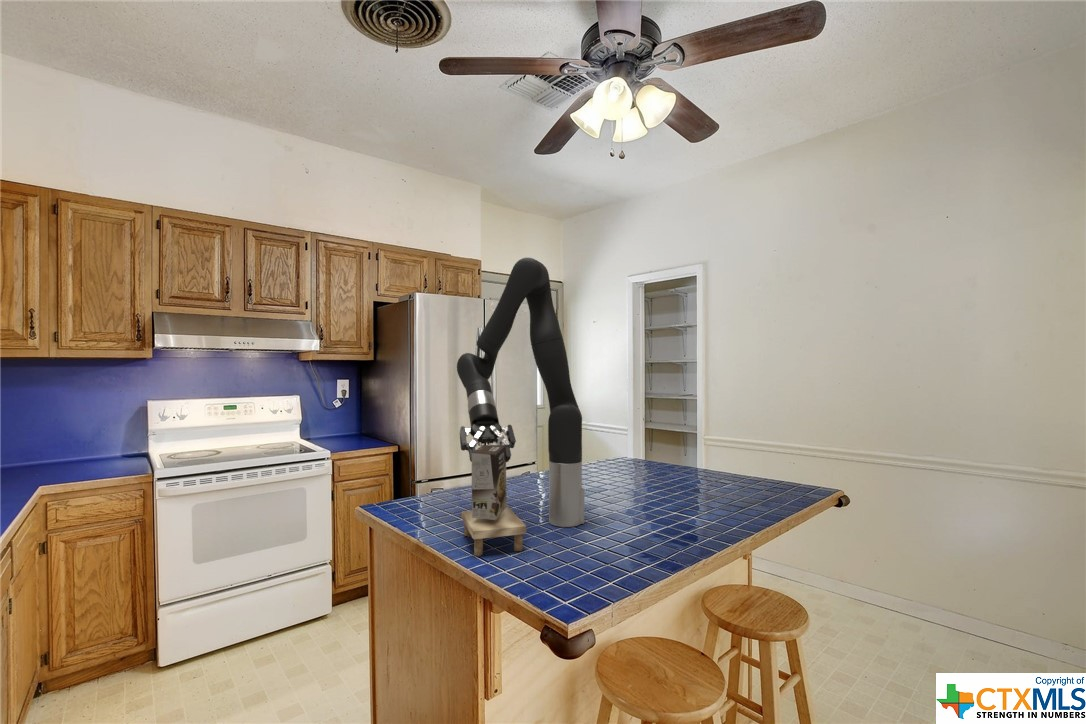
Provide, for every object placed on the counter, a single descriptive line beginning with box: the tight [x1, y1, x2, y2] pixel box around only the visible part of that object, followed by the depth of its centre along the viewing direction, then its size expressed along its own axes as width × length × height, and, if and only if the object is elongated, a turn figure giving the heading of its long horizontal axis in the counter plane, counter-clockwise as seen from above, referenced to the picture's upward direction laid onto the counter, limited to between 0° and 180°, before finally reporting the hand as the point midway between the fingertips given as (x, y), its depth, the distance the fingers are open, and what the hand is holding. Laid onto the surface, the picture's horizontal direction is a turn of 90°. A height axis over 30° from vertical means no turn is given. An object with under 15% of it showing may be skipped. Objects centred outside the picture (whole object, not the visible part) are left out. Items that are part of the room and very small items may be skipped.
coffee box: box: [471, 444, 508, 520], centre depth 124 cm, size 9×6×16 cm
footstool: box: [461, 506, 527, 557], centre depth 124 cm, size 13×17×6 cm
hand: (491, 461), depth 126 cm, fingers closed on coffee box, 8 cm apart
